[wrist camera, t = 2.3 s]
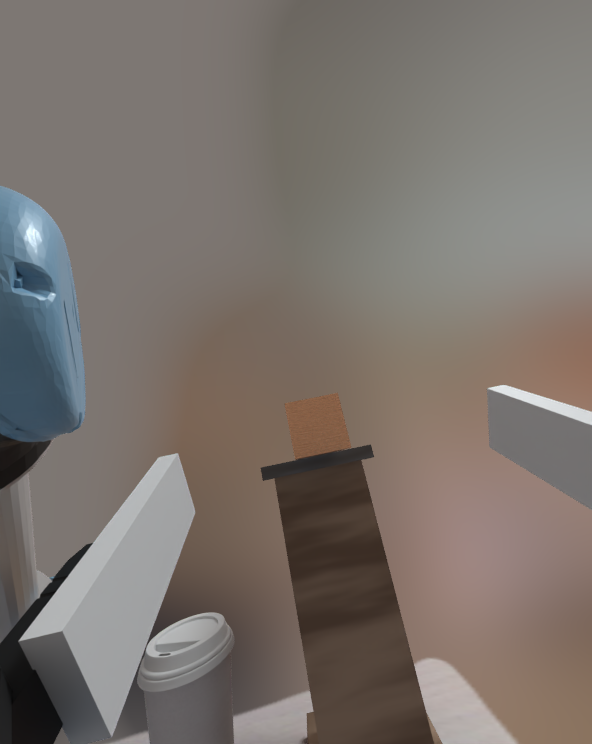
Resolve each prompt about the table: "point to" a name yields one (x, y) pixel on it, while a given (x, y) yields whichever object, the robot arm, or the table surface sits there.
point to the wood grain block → (317, 426)
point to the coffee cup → (189, 682)
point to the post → (347, 606)
